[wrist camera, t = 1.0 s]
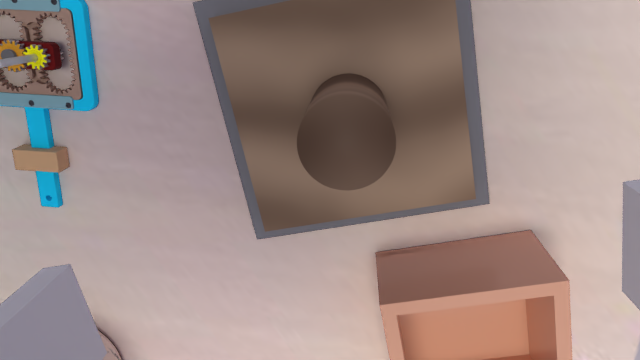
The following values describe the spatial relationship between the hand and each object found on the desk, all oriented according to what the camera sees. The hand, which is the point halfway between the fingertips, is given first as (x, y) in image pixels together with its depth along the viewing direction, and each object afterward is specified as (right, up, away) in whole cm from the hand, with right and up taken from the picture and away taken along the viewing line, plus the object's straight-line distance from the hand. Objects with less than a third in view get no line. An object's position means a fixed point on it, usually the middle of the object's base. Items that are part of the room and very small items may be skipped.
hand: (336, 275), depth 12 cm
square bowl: (+9, -6, +22) cm, 24 cm away
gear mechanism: (-19, +10, +19) cm, 28 cm away
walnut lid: (+1, +7, +17) cm, 18 cm away
